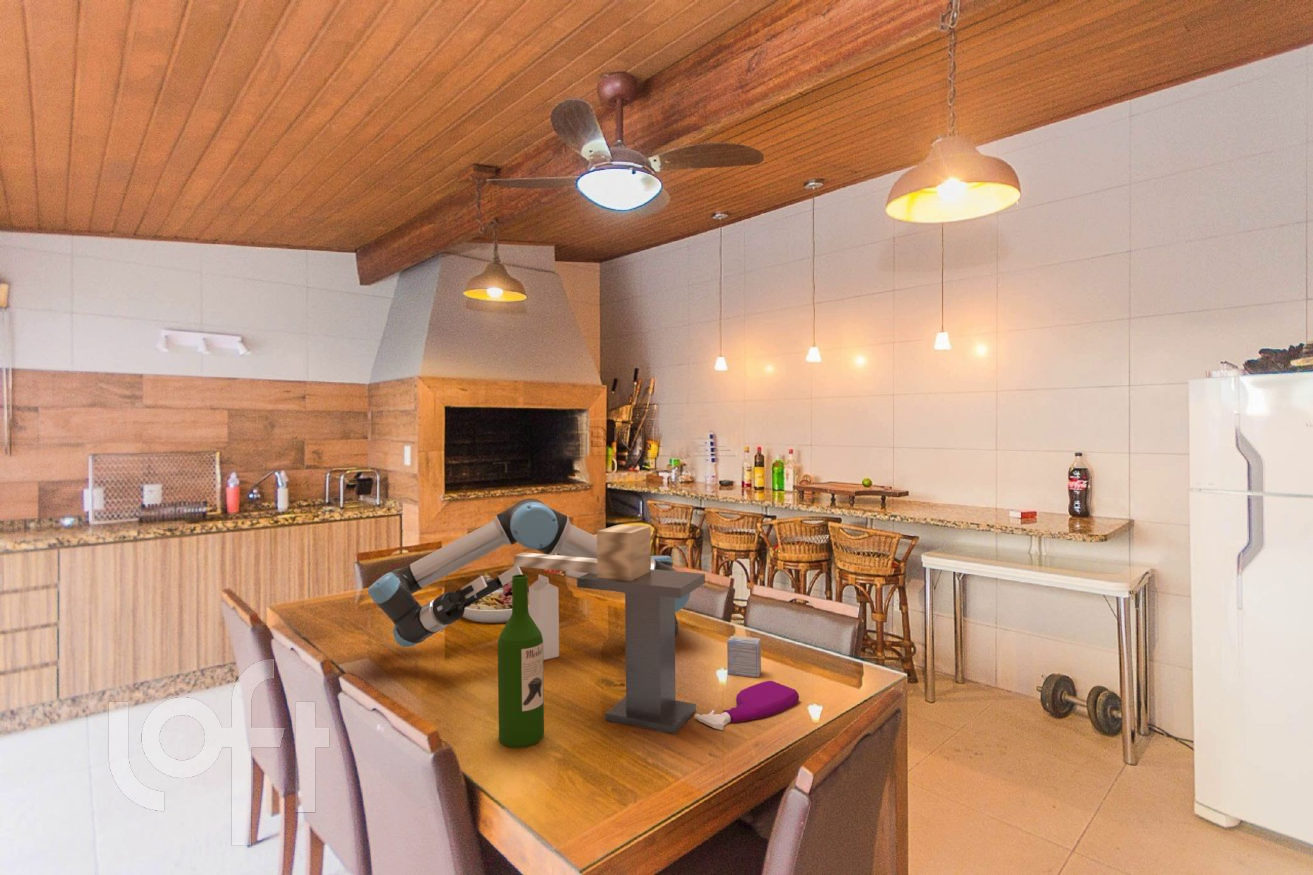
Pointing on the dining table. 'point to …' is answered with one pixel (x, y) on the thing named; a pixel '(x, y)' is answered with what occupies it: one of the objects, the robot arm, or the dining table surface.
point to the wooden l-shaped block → (603, 555)
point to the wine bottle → (520, 674)
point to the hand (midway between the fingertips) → (502, 575)
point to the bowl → (492, 607)
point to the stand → (650, 647)
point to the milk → (545, 614)
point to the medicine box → (744, 656)
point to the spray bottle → (754, 704)
